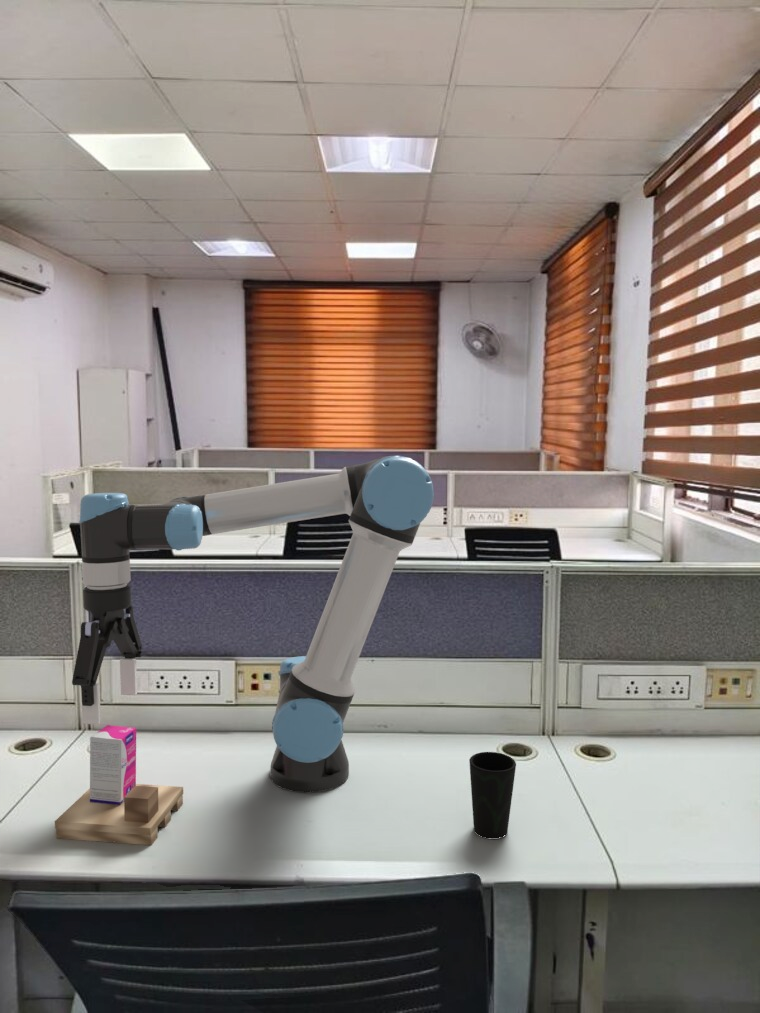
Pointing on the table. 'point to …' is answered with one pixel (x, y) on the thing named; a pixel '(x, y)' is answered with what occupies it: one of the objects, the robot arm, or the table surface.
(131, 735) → the supplement box
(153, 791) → the brown wooden cube
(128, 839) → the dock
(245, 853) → the table surface
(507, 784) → the cup
